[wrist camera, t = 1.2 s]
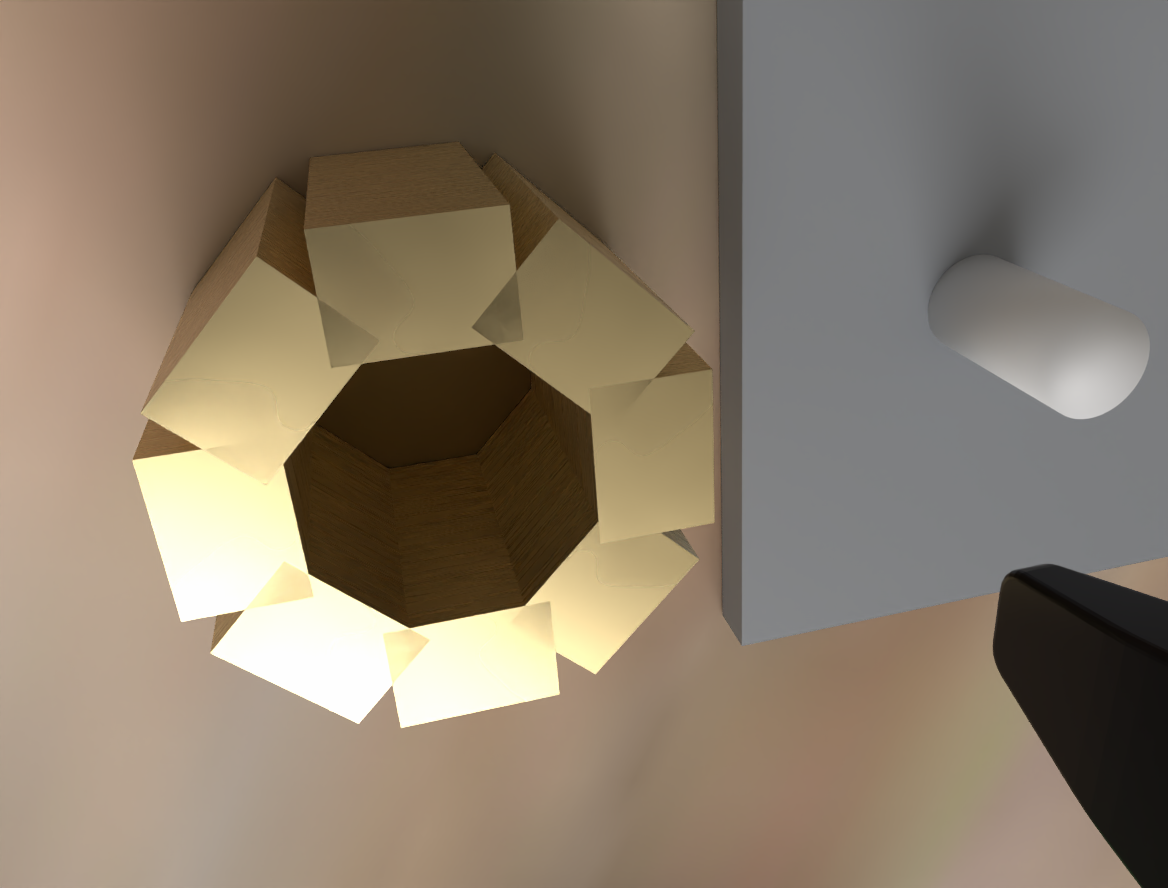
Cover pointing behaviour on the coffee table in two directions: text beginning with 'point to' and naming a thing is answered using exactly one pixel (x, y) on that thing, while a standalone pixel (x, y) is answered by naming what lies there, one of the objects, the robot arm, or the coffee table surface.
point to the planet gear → (435, 489)
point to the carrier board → (857, 260)
